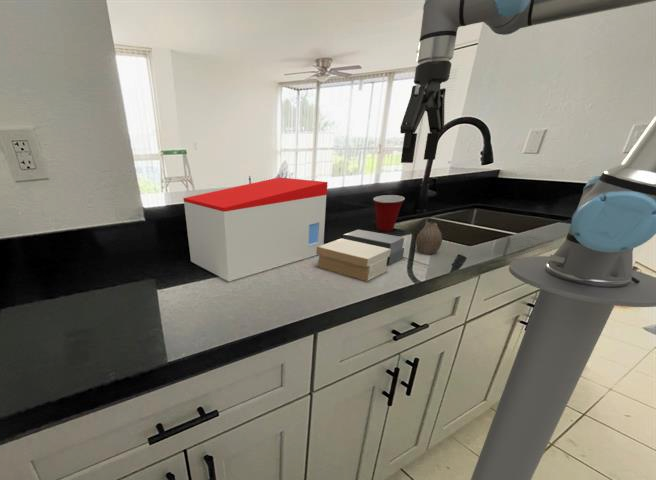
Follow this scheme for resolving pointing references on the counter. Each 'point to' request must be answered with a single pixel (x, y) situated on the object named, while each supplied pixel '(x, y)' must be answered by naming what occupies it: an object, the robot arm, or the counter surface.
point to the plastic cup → (387, 211)
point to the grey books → (379, 242)
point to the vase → (429, 239)
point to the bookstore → (256, 226)
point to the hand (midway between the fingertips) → (418, 161)
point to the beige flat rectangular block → (353, 252)
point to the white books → (353, 268)
